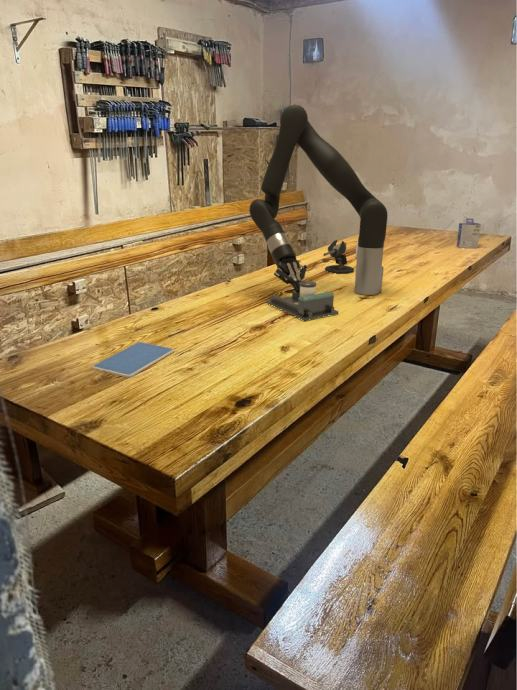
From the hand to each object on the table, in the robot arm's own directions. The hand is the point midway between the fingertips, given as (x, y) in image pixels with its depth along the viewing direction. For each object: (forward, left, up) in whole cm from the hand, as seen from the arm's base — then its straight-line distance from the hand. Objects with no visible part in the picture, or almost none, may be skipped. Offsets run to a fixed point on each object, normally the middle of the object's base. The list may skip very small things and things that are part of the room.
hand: (300, 292), depth 181 cm
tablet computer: (+63, +14, -6) cm, 65 cm away
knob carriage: (0, +4, -4) cm, 6 cm away
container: (-73, -48, -6) cm, 88 cm away
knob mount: (0, +1, -6) cm, 6 cm away
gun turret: (-43, -33, -6) cm, 55 cm away
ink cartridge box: (-136, -40, -6) cm, 142 cm away
